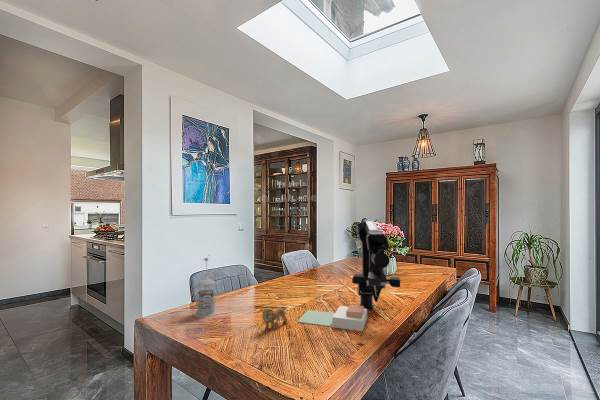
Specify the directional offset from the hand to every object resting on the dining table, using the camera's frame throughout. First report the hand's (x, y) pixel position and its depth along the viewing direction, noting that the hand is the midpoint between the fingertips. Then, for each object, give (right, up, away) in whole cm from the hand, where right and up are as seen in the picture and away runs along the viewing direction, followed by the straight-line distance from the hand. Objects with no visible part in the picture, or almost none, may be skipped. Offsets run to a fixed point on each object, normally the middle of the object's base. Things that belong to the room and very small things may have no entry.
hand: (376, 301), depth 123 cm
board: (-10, -10, +3) cm, 14 cm away
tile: (-8, -6, +3) cm, 10 cm away
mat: (-23, -10, +8) cm, 26 cm away
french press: (-74, -10, +13) cm, 76 cm away
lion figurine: (-41, -10, -2) cm, 42 cm away
